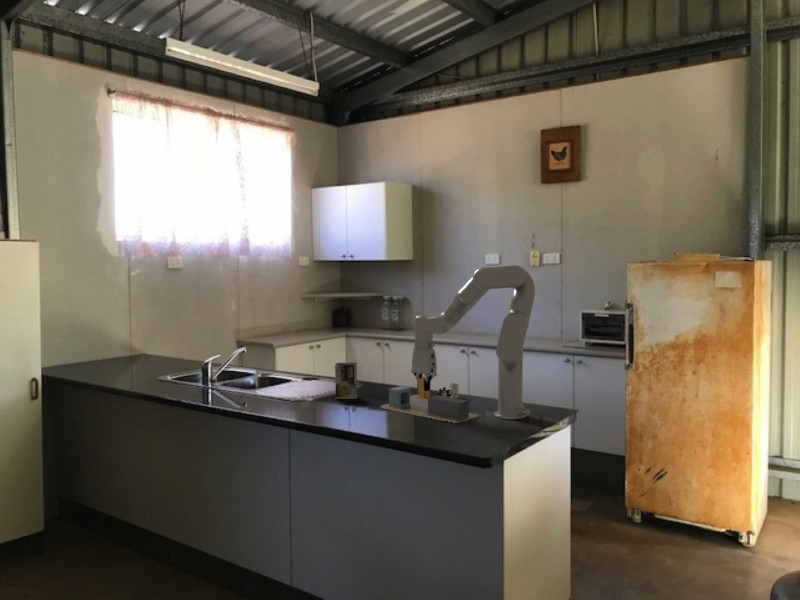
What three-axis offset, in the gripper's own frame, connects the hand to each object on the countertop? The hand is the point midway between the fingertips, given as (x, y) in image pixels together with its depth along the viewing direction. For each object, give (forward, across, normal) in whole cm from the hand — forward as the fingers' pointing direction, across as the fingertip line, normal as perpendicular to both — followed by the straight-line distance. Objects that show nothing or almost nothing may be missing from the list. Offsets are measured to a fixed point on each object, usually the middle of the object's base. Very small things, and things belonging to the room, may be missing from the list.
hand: (423, 389), depth 264 cm
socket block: (+8, +14, 0) cm, 16 cm away
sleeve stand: (+9, -2, 0) cm, 9 cm away
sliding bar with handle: (+7, -6, 0) cm, 9 cm away
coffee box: (+10, +43, +4) cm, 45 cm away
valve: (+10, +7, -26) cm, 28 cm away
